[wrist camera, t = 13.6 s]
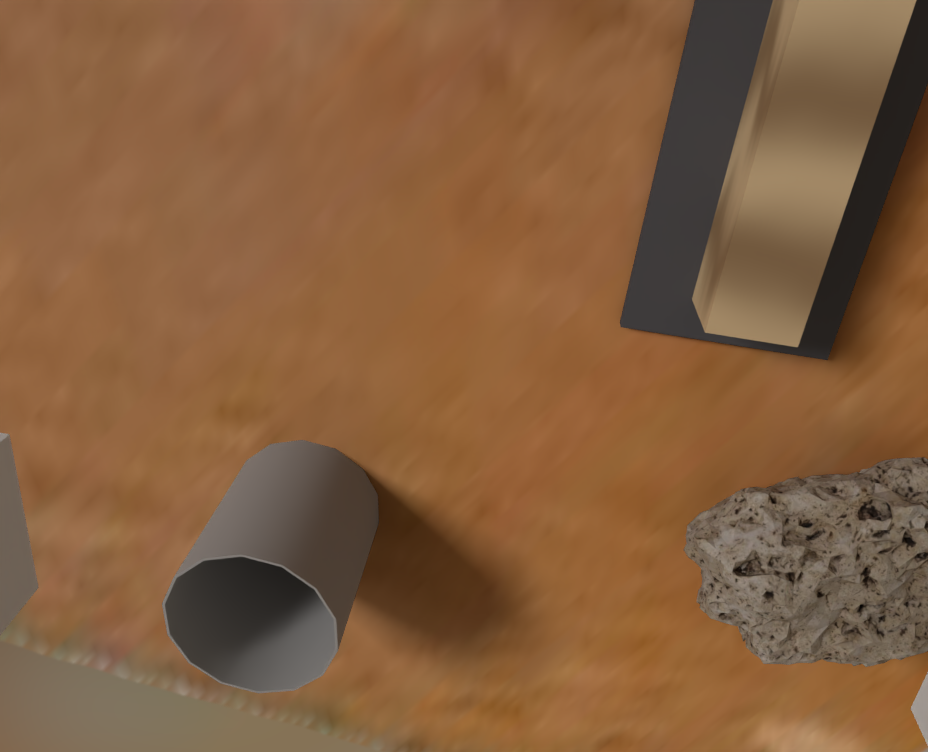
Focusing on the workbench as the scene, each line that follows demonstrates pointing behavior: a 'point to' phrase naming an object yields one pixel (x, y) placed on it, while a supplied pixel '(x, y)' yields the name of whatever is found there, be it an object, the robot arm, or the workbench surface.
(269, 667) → the cup
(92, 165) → the workbench surface
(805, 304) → the rail
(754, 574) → the pumice stone
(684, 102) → the mat
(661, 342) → the workbench surface
